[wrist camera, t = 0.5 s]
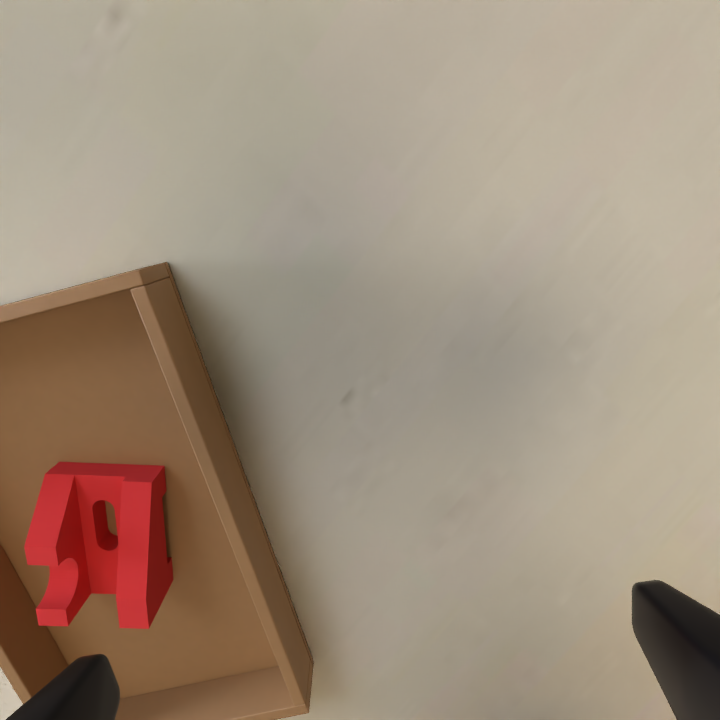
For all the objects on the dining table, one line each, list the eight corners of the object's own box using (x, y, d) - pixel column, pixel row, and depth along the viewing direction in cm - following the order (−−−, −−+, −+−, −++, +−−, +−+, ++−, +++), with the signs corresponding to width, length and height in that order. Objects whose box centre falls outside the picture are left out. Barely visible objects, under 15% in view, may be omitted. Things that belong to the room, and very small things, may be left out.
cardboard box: (314, 662, 26) (309, 713, 24) (88, 709, 27) (58, 763, 24) (167, 261, 20) (138, 269, 17) (-121, 338, 21) (-192, 357, 18)
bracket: (173, 579, 24) (148, 629, 21) (76, 576, 24) (38, 625, 21) (164, 465, 22) (136, 503, 19) (59, 461, 22) (15, 498, 19)
